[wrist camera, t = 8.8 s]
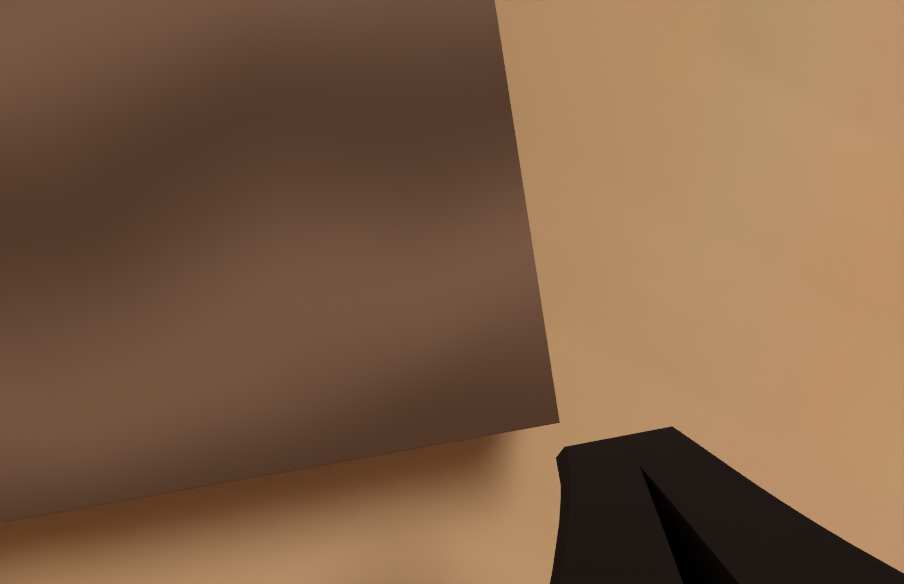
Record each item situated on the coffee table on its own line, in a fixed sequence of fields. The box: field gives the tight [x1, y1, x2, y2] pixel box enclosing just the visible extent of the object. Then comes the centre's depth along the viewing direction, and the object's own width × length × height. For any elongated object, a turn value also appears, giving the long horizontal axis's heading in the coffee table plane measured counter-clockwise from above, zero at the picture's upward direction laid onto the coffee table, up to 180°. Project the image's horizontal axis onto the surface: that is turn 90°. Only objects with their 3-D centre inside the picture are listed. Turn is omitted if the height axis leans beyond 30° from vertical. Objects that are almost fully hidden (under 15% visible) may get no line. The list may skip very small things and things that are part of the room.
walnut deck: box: [0, 0, 560, 522], centre depth 16 cm, size 12×18×4 cm, turn 100°
